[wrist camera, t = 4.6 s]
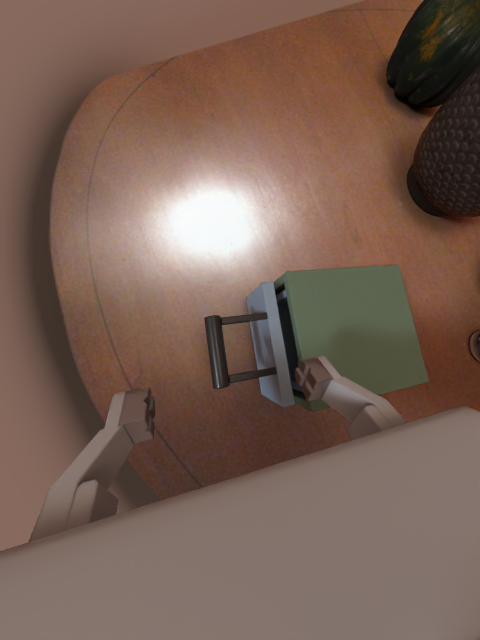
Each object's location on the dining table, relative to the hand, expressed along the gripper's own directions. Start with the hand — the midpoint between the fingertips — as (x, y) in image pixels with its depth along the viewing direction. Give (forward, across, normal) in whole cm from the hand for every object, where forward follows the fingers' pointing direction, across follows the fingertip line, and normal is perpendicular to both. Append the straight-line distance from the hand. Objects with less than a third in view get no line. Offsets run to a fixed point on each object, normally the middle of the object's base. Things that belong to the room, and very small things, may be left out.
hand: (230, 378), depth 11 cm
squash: (+42, -45, -24) cm, 66 cm away
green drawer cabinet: (+10, -14, +8) cm, 19 cm away
